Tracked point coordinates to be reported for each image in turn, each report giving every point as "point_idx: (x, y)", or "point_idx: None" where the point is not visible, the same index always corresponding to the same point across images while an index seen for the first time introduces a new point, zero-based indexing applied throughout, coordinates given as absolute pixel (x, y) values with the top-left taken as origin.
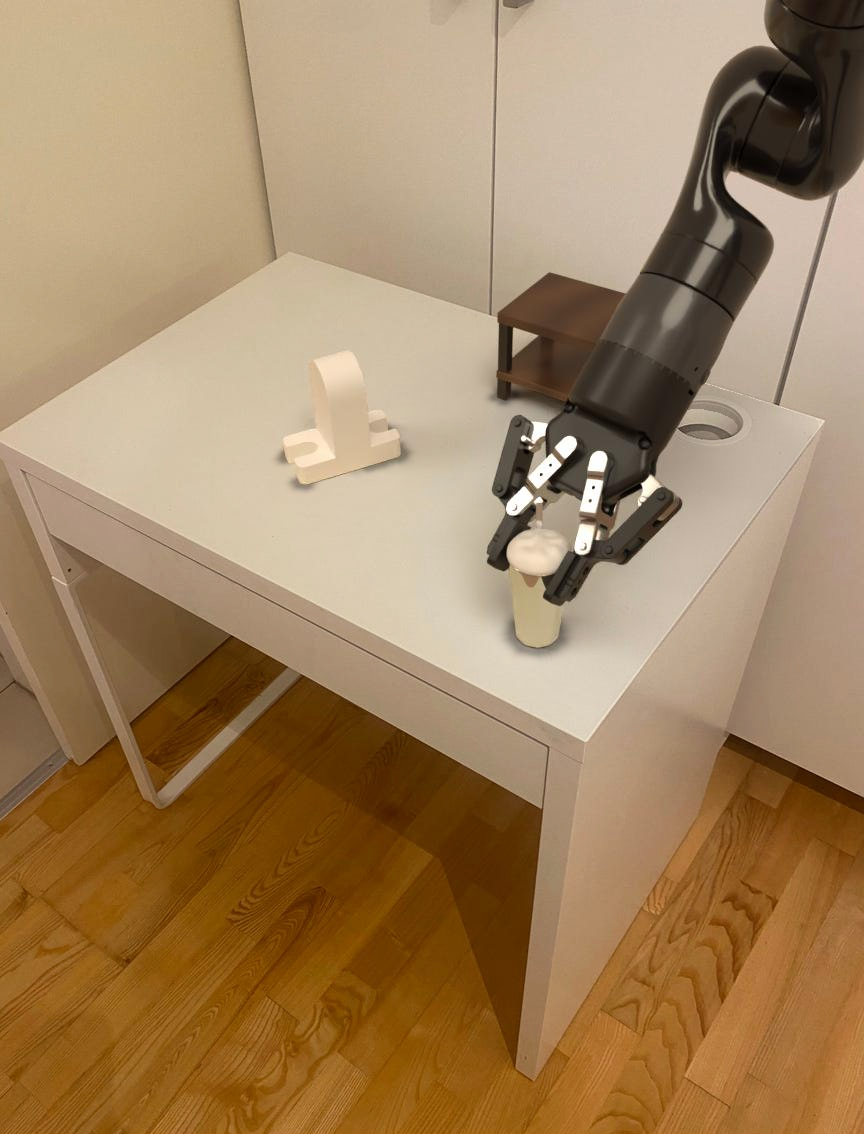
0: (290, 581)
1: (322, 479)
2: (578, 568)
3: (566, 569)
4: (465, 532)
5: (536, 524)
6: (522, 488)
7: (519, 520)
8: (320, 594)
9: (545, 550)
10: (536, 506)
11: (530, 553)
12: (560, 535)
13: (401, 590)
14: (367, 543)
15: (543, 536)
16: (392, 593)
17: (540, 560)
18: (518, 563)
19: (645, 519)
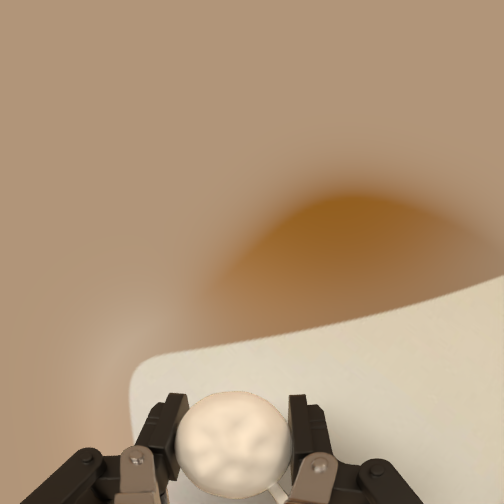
0: (469, 292)
1: None
2: (143, 438)
3: (157, 426)
4: (424, 483)
5: (279, 487)
6: (328, 497)
7: (298, 462)
8: (444, 303)
9: (207, 436)
10: None
11: (221, 411)
12: (219, 487)
13: (404, 371)
14: (476, 382)
15: (234, 461)
16: (406, 361)
17: (200, 414)
18: (234, 394)
19: (30, 502)
